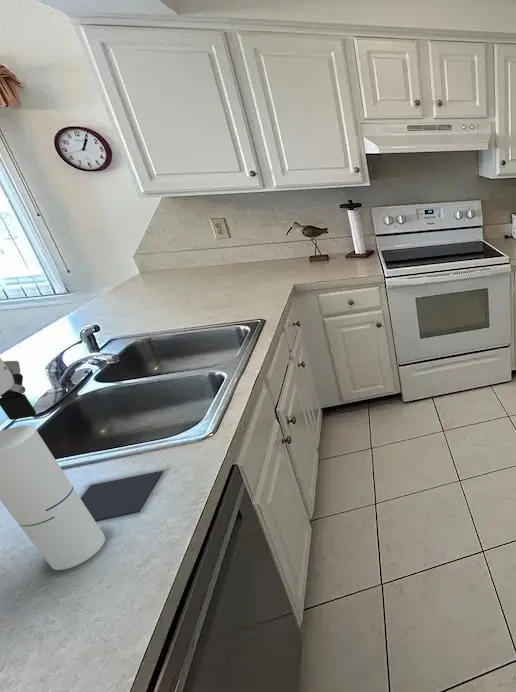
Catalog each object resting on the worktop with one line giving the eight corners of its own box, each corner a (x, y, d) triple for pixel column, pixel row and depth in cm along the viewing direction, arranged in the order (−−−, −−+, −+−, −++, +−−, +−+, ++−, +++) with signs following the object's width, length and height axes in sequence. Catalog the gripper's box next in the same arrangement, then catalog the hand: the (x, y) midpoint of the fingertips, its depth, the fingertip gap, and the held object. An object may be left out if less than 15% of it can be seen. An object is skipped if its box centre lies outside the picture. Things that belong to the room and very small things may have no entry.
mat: (57, 529, 77) (56, 528, 77) (91, 485, 86) (90, 484, 86) (139, 511, 80) (138, 510, 80) (163, 471, 90) (162, 470, 89)
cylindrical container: (113, 541, 74) (44, 432, 63) (62, 576, 68) (-23, 463, 58) (92, 527, 77) (23, 420, 66) (42, 560, 71) (-44, 449, 60)
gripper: (-52, 314, 61) (12, 408, 68) (-188, 374, 46) (-87, 485, 53) (12, 307, 63) (67, 399, 70) (-99, 362, 48) (-14, 472, 55)
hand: (0, 436), depth 62 cm, fingers open, 9 cm apart
